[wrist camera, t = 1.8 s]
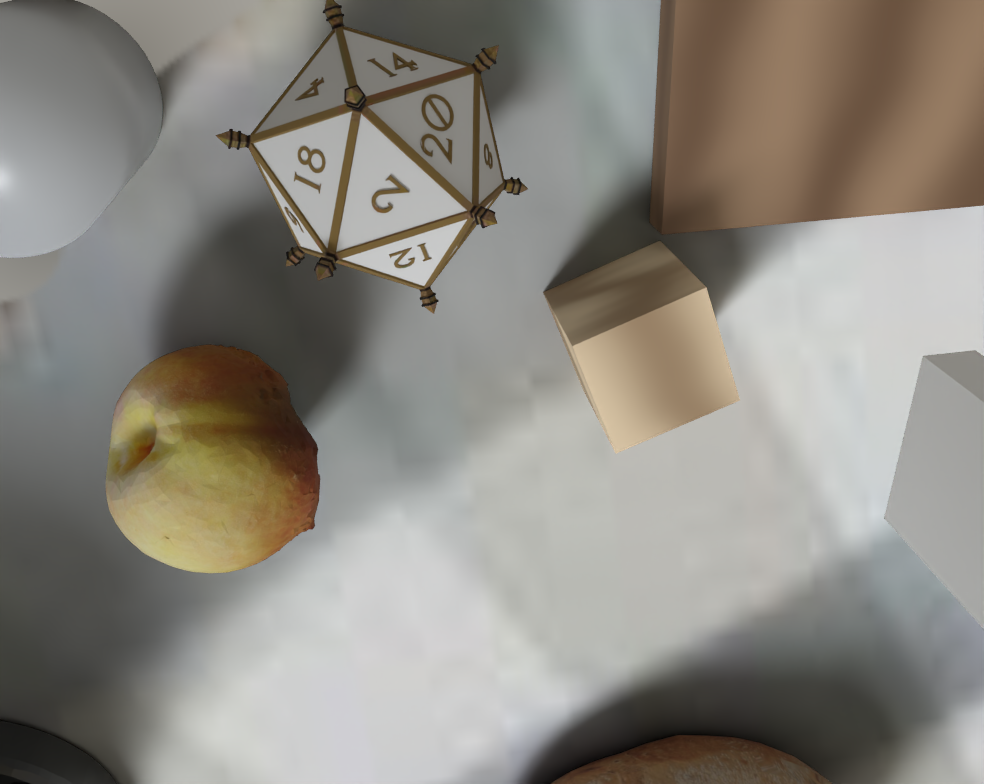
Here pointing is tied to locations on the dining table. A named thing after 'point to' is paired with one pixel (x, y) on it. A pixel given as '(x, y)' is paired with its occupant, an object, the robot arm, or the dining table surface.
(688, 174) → the board
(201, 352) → the fruit
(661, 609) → the dining table surface
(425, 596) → the dining table surface
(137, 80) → the white rounded cylinder
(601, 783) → the bread
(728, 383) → the beech block
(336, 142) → the game die
